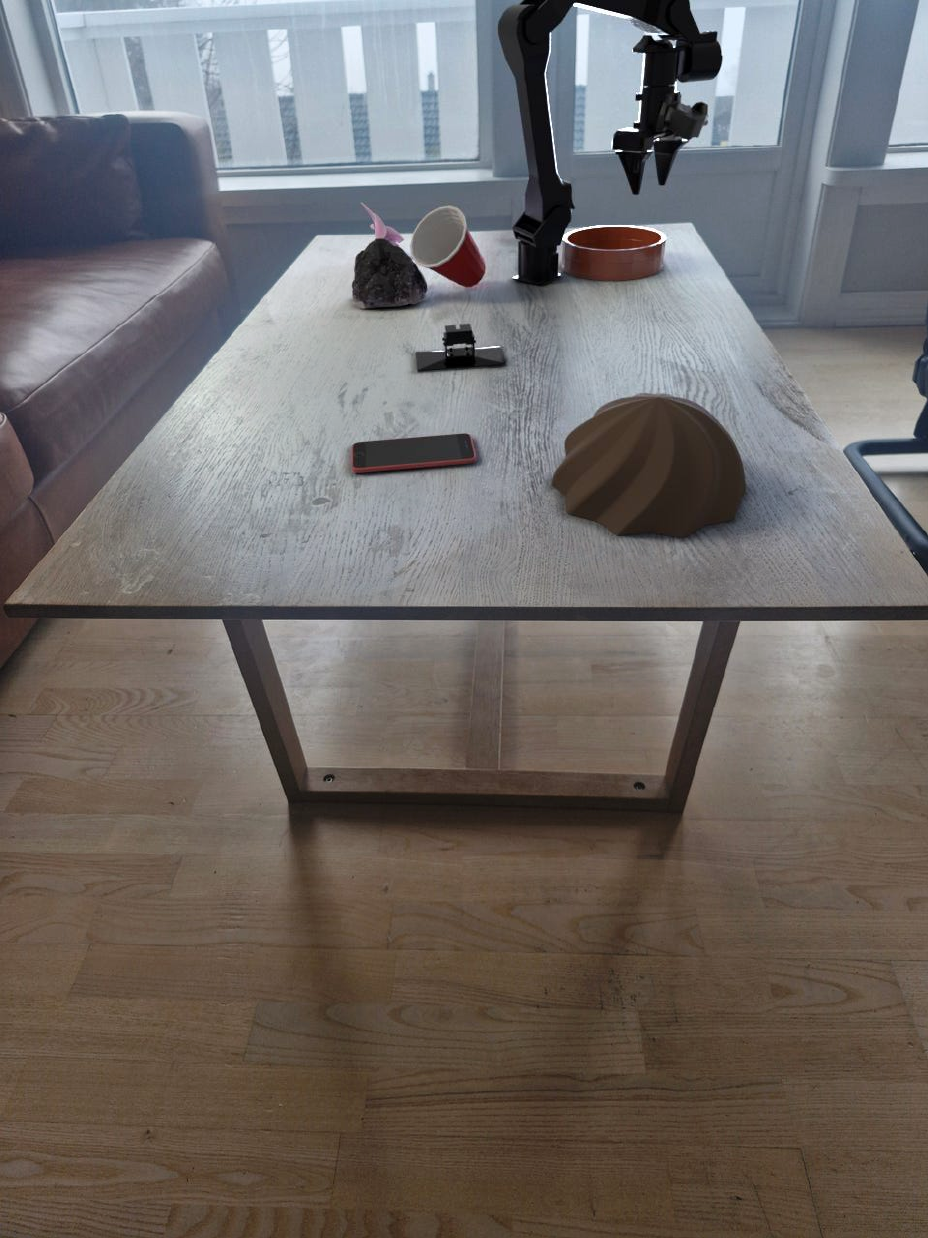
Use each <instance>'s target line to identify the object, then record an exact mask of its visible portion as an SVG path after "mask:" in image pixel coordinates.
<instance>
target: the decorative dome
mask: <svg viewBox="0 0 928 1238" xmlns="http://www.w3.org/2000/svg"><path fill="white" fill-rule="evenodd" d="M563 447H564V453H565V458H564V459H563V460H562V462H561V463H560V465H558V467H557V468H556V470H555V471H554V472H553V476H552V480H551V486H552V487H553V489H555V490H556V491H557V492H559V494H561V495H562V496H563V497H564V498H565V512H566V514H568V515H570V516H575V517H578V518H582V519H587V520H591V521H594V522H597V523H598V524H600V525H601V526H603V527H604V528H605V529H607V530H608V531H610V532H611V533H613V534H614V535H615V536H627V535H638V534H639V535H640V534H648V533H649V534H650V533H651V534H658V535H661V536H662V535H663V536H669V537H675V538H688V537H689V536H691V535H692V534H694V533H695V532H697V531H698V530H700V529H701V528H703V527H704V526H709V525H715V524H716V525H717V524H721V523H727V522H732V521H734V520H735V518H736V515H737V512H738V508H739V505H740V501H741V497H742V496H743V495H745V494H746V493H747V485H746V484H747V483H746V475H745V474H746V473H745V469H744V464H743V461H742V457H741V455H740V451H739V449H738V447H737V445H736V443H735V440H734V439H733V438H732V436H731V435H730V433H729V432H728V431H727V429H726V428H725V427H724V426H723V424H722V423H721V422H720V421H719V420H718V419H717V418H716V417H715V416H714V414H712V413H711V412H710V411H708V410H707V409H706V408H704V406H702V405H700V404H698V403H697V402H694V401H693V400H690V399H688V398H684V397H680V396H679V397H678V396H674V395H672V394H669V393H667V392H660V393H650V392H640V393H636V394H634V395H632V396H627V397H621V398H617V399H614V400H611V401H609V402H606V403H605V404H603V405H602V406H600V407H599V408H598V409H597V410H596V411H595V413H594V414H593V416H591V417H590V418H588V419H587V420H585V421H584V422H582V423H580V424H579V425H577V426H576V427H575V428H574V429H573V430H571V431H570V432H569V433H568V434H567V435H566V437H565V440H564V446H563Z"/></svg>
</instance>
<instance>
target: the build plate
mask: <svg viewBox="0 0 928 1238" xmlns="http://www.w3.org/2000/svg"><path fill="white" fill-rule="evenodd" d="M458 327H459V328H457V325H456V324H449V325H444V332H443V333H442V334H443V337H441V341H442V346H443V350H430V351H416V352H415V359H416V360H415V361H416V363H415V364H416V371H417V373H428V372H441V371H442V372H443V371H456V370H468V369H479V368H480V369H481V368H489V369H490V368H491V369H492V368H502V367H505V366H506V365H507V363H506V360H505V357H504V354H503V351H502V349H501V346H499V345H498V346H496V345H495V346H484V347H475V346H476V345H475V344H477V341H476V339H475V334H474V332H473V328H472V326H471V323H462V324H459V326H458ZM454 345H465V347H456V348H453V346H454ZM448 347H449V348H448Z"/></svg>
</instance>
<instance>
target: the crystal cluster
mask: <svg viewBox="0 0 928 1238" xmlns="http://www.w3.org/2000/svg"><path fill="white" fill-rule="evenodd" d="M400 247H401V246H400ZM400 247H398V246H394V245H393V244H392V243H391V242H390V240H389V239H383V238H378V239H376V238H374V240H372V241H371V242H369V244H367V246H366V247H365V249H363V250H360V252H359V253H357V254H356V256H355V258H354V267H353V273H354V278H353V281H352V283H351V288H352V289H351V291H352V294H351V296H352V302H354V303H355V305H356V306H357V307H358V308H359V309H363V310H364V309H375V308H387V307H402V306H407V305H409V304H410V305H417V304H418V303H420V302H422V301H423V300H425V299H426V295H427V292H428V283H427V280H426V277H425V275H424V274H423V272H422V271H421V270H420V269H419V267H418V264H417V263H416V262H415V261H414V260H413V258H412V257H411V256H409V255H408V254H407V252H406V251H405V250H404V249H403V248H402V247H401V248H400Z"/></svg>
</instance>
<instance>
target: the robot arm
mask: <svg viewBox="0 0 928 1238" xmlns="http://www.w3.org/2000/svg"><path fill="white" fill-rule="evenodd" d="M572 7H578V8H582V9H586V10H591V11H595V12H598V13H602V14H606V15H610V16H615V17H618V18H622V19H624V20H626V21H628V22H629V23H631V24H632V25H633V26H634V27H636V28H638V29H639V30H641V31H643V32H644V33H647V34H644V35H642V36H641V39H640V40H639V41H638V42H637V43H636V44H635V45H634V46H633V48H632V49H631V52H632V53H633V54H641V55H643V59H642V60H643V62H642V71H641V72H642V73H641V86H640V92H638V93H637V92H636V93H635V97H634V101H636V102H639V111H638V120H637V121H633V126H632V127H625V128H621V129H618V130H616V131H615V132H614V133H613V135H612V136H611V145H610V149H611V150H612V151H614V154H615V155H617V157H618V159H619V161H620V163H621V165H622V168H623V171H624V173H625V177H626V179H627V182H628V185H629V188H630V190H631V194H632V195H634V196H639V195H640V191H641V188H642V183H643V182H642V181H643V178H644V171H645V166H646V162H647V160H648V159H649V158H650V156H651V155H652V154H654V163H655V169H656V178H657V182H658V186H660V187H661V186H663V187H664V186H666V185H667V184H666V183H667V181H668V178H669V176H670V173H671V170H672V167H673V165H674V162H675V159H676V157H677V155H678V152H679V151H680V150H681V149H682V148H683V147H684V146H685V145H687V144H688V143H689V142H690V141H691V140H692V139H693V138H699V137H700V135H701V132H702V129H703V127H706V126H708V125H709V124H708V123H709V120H708V118H709V113H708V111H709V105H708V104H707V103H705V102H703V101H698V102H695V103H694V104H693V105H691V104H688V105H686V104H684V103H682V94H681V91H677V82H679V83H682V84H686V83H695V82H696V83H697V82H706V81H712V80H714V79H715V78H716V77H717V76H718V75H719V73H720V71H721V69H722V65H723V61H724V56H723V54H722V53H723V52H722V47H721V44H720V42H719V41H718V31H717V30H707V31H706V30H705V31H702V32H700V30H699V27H698V24H697V22H696V20H695V17H694V15H693V12H692V10H691V2H690V0H522V1H521V2H519V3H518V4H512V5H510V6H508V7H507V8H506V9H504V11H503V12H502V14H501V16H500V18H499V19H498V21H497V35H498V40H499V44H500V46H501V50H502V53H503V56H504V60H505V61H506V63H507V65H508V67H509V70H510V71H511V73H512V75H513V78H514V80H515V86H516V94H517V101H518V108H519V115H520V121H521V129H522V135H523V143H524V150H525V156H526V164H527V171H528V181H527V184H526V189H525V193H524V211H523V212H522V214H521V215H520V216H519V217H518V219H517V220H516V221H515V222H514V224H513V225H512V227H511V229H512V232H513V236H514V238H515V240H519V241H518V242H517V275H514V276H513V277H512V281H515V282H521V283H526V284H531V285H537V286H543V285H546V284H548V283H550V282H553V281H556V280H557V279H559V278H562V273H559V259H560V258H559V255H560V254H559V251H558V247H559V246H561V245H562V243H563V237H564V235H565V232H566V229H567V228H568V226H569V224H570V223H571V222H572V219H573V218H572V217H573V212H572V211H573V210H575V209H576V206H575V205H574V202H573V186H572V183H571V182H569V181H566V180H563V179H561V178H560V175H559V173H558V168H557V159H556V151H555V143H554V135H553V134H554V133H553V127H552V119H551V118H552V117H551V110H550V102H549V101H550V100H549V94H548V93H549V92H548V85H547V78H546V77H547V76H546V75H547V74H546V72H547V67H548V63H549V59H550V55H551V50H552V49H551V48H552V47H551V45H552V44H551V43H552V41H551V39H552V36H551V35H552V32H553V31H554V30H555V29H556V28H557V27H559V25H561V24H562V22H563V21H564V19H565V18H566V16H567V15H568V13H569V11H570V10H571V8H572ZM653 35H656V36H657V37H659V39H654V37H653ZM671 41H672V42H675V45H674V44H673V43H672V42H671ZM652 148H653V150H652Z"/></svg>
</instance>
